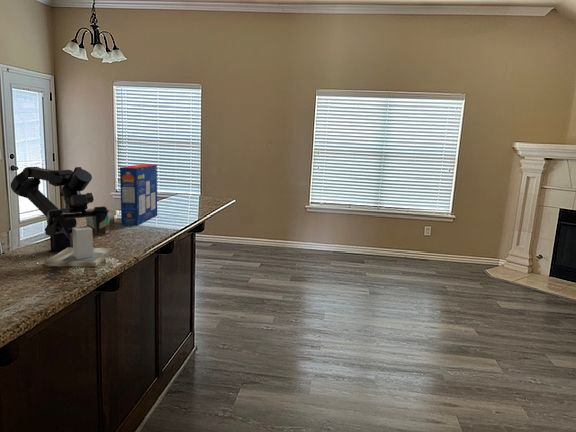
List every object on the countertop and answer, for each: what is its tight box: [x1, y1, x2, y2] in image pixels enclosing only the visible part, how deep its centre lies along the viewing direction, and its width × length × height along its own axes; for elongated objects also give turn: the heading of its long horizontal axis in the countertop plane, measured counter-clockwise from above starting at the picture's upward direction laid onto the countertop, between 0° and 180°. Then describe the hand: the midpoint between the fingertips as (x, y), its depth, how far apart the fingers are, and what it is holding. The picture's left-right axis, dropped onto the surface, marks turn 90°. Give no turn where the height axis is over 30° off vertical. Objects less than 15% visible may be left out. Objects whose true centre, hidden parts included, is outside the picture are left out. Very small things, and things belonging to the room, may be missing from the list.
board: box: [44, 247, 113, 267], centre depth 148 cm, size 16×18×2 cm
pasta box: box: [119, 163, 158, 227], centre depth 216 cm, size 28×8×28 cm, turn 178°
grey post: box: [71, 225, 94, 259], centre depth 144 cm, size 5×5×10 cm
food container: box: [85, 208, 112, 236], centre depth 187 cm, size 12×6×10 cm, turn 74°
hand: (83, 235), depth 143 cm, fingers open, 9 cm apart
